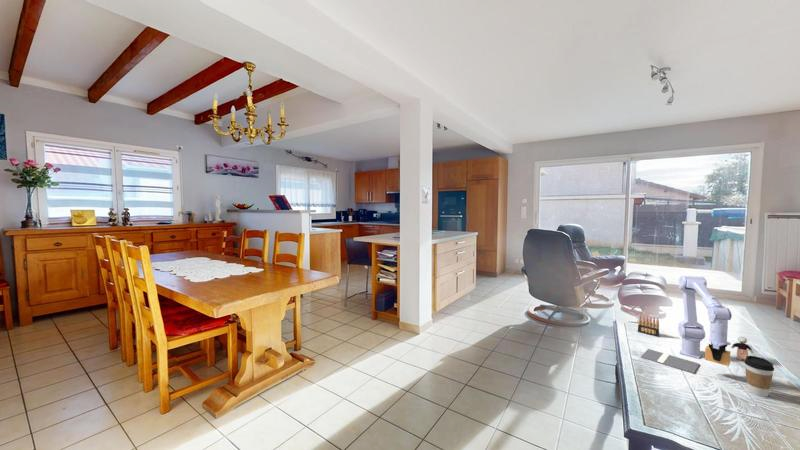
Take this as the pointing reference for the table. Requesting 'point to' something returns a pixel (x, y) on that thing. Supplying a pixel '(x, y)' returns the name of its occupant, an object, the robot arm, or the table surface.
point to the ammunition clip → (648, 326)
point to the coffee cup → (758, 375)
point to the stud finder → (724, 359)
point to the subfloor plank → (671, 361)
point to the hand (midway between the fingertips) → (717, 358)
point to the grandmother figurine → (742, 348)
